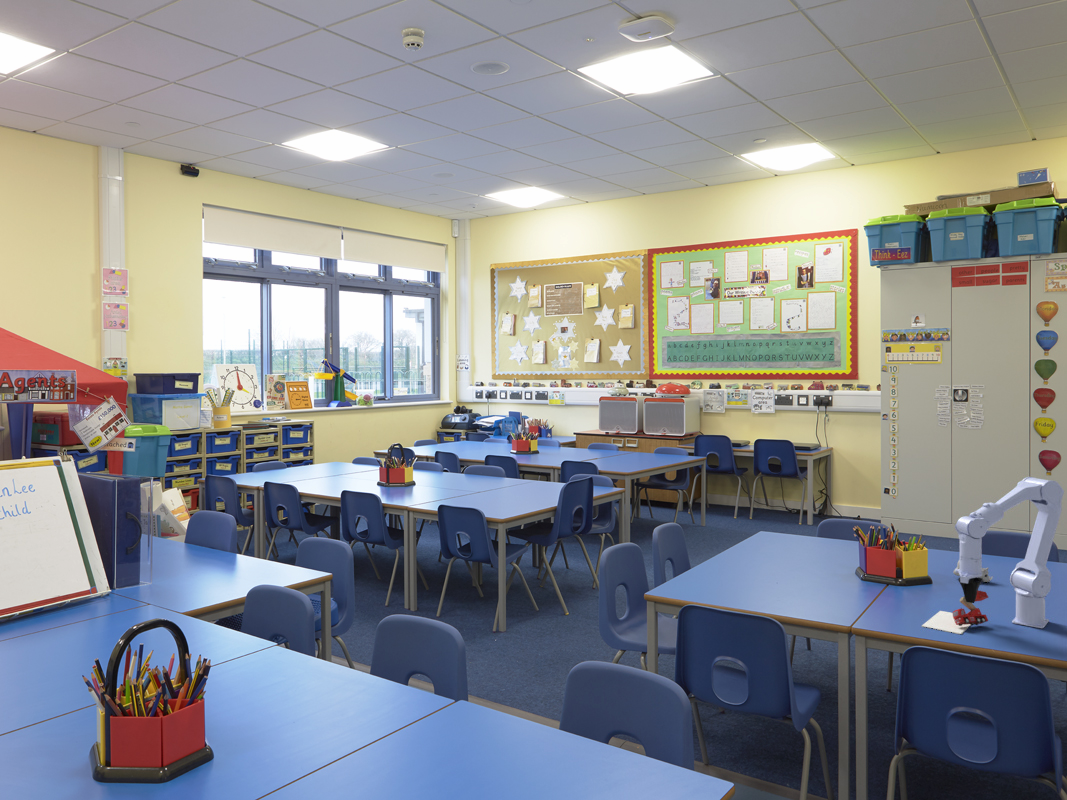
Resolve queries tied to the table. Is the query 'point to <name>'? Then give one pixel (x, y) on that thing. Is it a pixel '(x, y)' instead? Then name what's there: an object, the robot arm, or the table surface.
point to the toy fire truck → (971, 616)
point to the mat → (945, 623)
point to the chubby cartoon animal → (984, 577)
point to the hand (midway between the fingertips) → (970, 602)
